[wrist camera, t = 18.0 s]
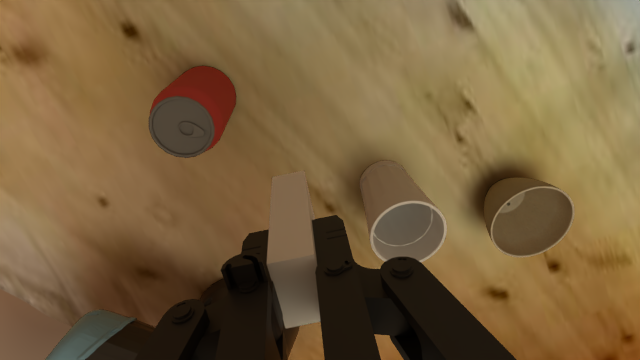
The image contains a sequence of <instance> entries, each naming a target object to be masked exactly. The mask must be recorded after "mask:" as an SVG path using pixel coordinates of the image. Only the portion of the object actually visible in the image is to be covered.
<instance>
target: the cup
mask: <svg viewBox="0 0 640 360" xmlns="http://www.w3.org/2000/svg"><path fill="white" fill-rule="evenodd" d="M360 190H361V193H362V197H363V203H364V208H365V213H366V219H367V224H368V231H369V237H370V243H371V247H372V249H373V251H374V252H375V254H376V255H377V256H378V257H379V258H380V259H382V260H383V261H387V260H389V259H391V258H395V257H399V256H404V257H411V258H414V259H416V260H418V261H419V262H423V261H425V260H426V259H428V258H430V257H431V256H432V255H434V254H435V253H436V252H437V251H438V250H439V248H440V247H441V246H442V244H443V242H444V240H445V237H446V233H447V224H446V220H445V218H444V216H443V214H442V213H441V211H440V210H439V209H438V208H437V207H436V206H435V205H434V204H433V203H432V201H431V200H430V199H429V198H428V197H427V196H426V195H425V194H424V192H423V191H422V190H421V189H420V188H419V187H418V185H417V184H416V183H415V182H414V181H413V180H412V178H411V177H410V176H409V175H408V174H407V172H406V171H405V169H404V168H403V167H402V166H401V165H400V164H398V163H396V162H393V161H387V160H386V161H379V162H376V163H374V164H372V165H370V166H369V167H368V168H367V169H366V170H365V171H364V173H363V174H362V176H361V179H360Z"/></svg>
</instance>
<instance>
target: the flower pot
mask: <svg viewBox="0 0 640 360" xmlns="http://www.w3.org/2000/svg"><path fill="white" fill-rule="evenodd" d="M508 203H510V204H508ZM484 218H485V223H486V227H487V230H488V233H489V235H490V238H491V240H492V242H493V243H494V245H495V246H496V248H497V249H498V250H500V251H501V252H502V253H504V254H506V255H509V256H513V257H529V256H534V255H537V254H540V253H543V252H545V251H547V250H549V249H550V248H552V247H553V246H555V245H556V244H557V243H558V242H560V241H561V240H562V238H563V237H564V236H565V235H566V234H567V232H568V231H569V229H570V227H571V225H572V223H573V219H574V205H573V202H572V200H571V198H570V197H569V195H568V194H566V193H565V192H564V191H562V190H561V189H559V188H557V187H555V186H553V185H551V184H548V183H545V182H542V181H539V180H535V179H530V178H519V177H518V178H507V179H503V180H500V181H498V182H496V183H495V184H493V185H492V186H491V188H490V189H489V190H488V192H487V195H486V198H485V203H484Z"/></svg>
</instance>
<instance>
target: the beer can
mask: <svg viewBox="0 0 640 360" xmlns="http://www.w3.org/2000/svg"><path fill="white" fill-rule="evenodd" d="M235 104H236V93H235V89H234V86H233V84H232V83H231V81H230V79H229V78H228V77H227V76H226V75H225V74H224V73H222V72H221V71H219V70H217V69H215V68H213V67H207V66H199V67H193V68H191V69H190V70H188V71H186V72H185V73H183V74H182V75H181V76H180V77H178V78H177V79H176V80H175V81H174V82H172V83H171V84H170V85H169V86H167V87H166V88H165V89H164V90H163V91H161V92H160V94H159V95H158V96H157V97H156V98H155V99H154V102H153V104H152V107H151V110H150V117H149V130H150V133H151V136H152V138H153V140H154V141H155V142H156V144H157V145H158V146H159V147H160V148H161V149H163V150H164V151H165V152H167V153H169V154H171V155H174V156H176V157H184V158H188V157H194V156H197V155H199V154H201V153H203V152H205V151H207V150H209V149H211V148H212V147H213V146H214V145H215V144H216V143H217V142H218V141H219V140H220V138H221V135H222V133H223V131H224V129H225V127H226V125H227V122H228V120H229V118H230V116H231V114H232V111H233V109H234V107H235Z"/></svg>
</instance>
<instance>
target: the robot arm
mask: <svg viewBox="0 0 640 360" xmlns="http://www.w3.org/2000/svg"><path fill="white" fill-rule="evenodd" d="M221 272H222V275H223V278H224V279H222V280H220V281H218V282H216V283H214V284H213V285H212V286H210V287H209V288H208V289H207V290H206V291H205V292H204V294H203V295H202V297H201V299H200V301H199V300H194V299H191V300H185V301H182V302H180V303H178V304H176V305H174V306H173V307H171V308H170V309H169V310H168V311H167V312H166V313H165V314H164V316H163V317H162V319H161V320H160V322H159V323H158V325H157V326H156V328H155V327H153V326H150V325H148V324H145V323H143V322H140V321H138V320H137V318H135V317H130V318H129V317H125V316H122V315H119V314H116V313H113V312H110V311H107V310H94V311H91V312H89V313H87V314H85V315H84V316H83V317H82V318H80V319H79V320H78V321H77V322H76V323H75V325H74V326H73V327H72V328H71V329H70V330H69V331H68V333H67V334H66V335H65V336H64V337H63V338H62V339H61V341H60V342H59V343H58V345H56V347H55V348H54V349H53V351H52V352H51V353H50V354H49V356H48V357H47V358H46V359H45V360H288V357H289V354H290V352H291V349H292V347H293V344H294V342H295V339H296V337H297V334H298V331H299V326H301V325H306V324H311V323H316V322H321V329H322V338H323V348H324V357H325V360H381V358H380V355H379V351H378V347H377V343H376V339H375V336H374V334H380V335H389V336H390V338H391V341H392V342H393V344H394V345H395V347H396V348H397V350H398V351H399V353H400V354H401V356H402V357H403V359H404V360H516V359H515V358H514V357H513V355H512V354H511V353H510V352H509V351H508V350H507V349H506V348H505V347H504V346H503V345H502V344H501V343H500V342H499V341H498V340H497V339H496V338H495V337H494V336H493V335H492V334H491V333H490V332H489V331H488V330H487V329H486V328H485V327H484V326H483V325H482V324H481V323H480V322H479V321H478V320H477V319H476V318H475V317H474V316H473V315H472V314H471V313H470V312H469V311H468V310H467V309H466V308H465V307H464V306H463V305H462V304H461V303H460V302H459V301H458V300H457V299H456V298H455V297H454V296H453V295H452V294H451V293H450V292H449V291H448V290H447V289H446V288H445V287H444V286H443V285H442V283H441V282H440V281H439V280H438V279H437V278H436V277H435V276H434V275H433V274H432V273H431V272H430V271H429V270H428V269H427V268H426V267H425V266H424V265H423V264H422V263H421V262H419V261H418V260H416V259H414V258H411V257H404V256H399V257H395V258H391V259H389V260H387V261H385V262H384V264H383V265H382V266H381V269H369V268H365V267H362V266H360V265H358V264H357V263H356V262H355V261H354V259H353V257H352V253H351V249H350V245H349V242H348V238H347V234H346V230H345V226H344V223H343V220H342V219H340V218H339V217H338V216H337V215H334V216H329V217H324V218H319V219H315V217H314V213H313V208H312V203H311V199H310V194H309V190H308V185H307V180H306V176H305V171H299V172H294V173H289V174H284V175H279V176H274V177H272V189H271V204H270V219H269V230H264V231H259V232H254V233H249V235H248V236H247V237H246V239H245V240H244V241H243V246H242V252H241V254H239V255H236V256H234V257H232V258H231V259H229V260H228V261H227V262H226V263H225V264H223V266H222V268H221Z"/></svg>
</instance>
